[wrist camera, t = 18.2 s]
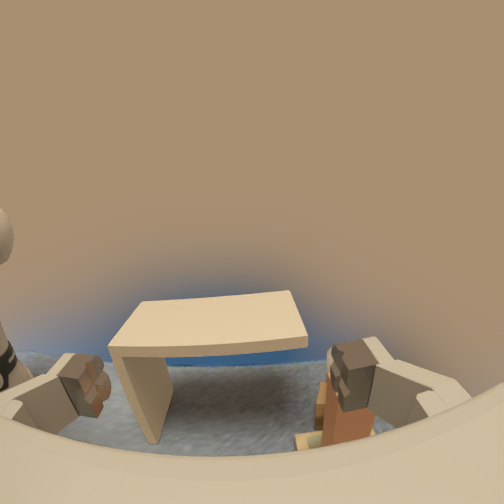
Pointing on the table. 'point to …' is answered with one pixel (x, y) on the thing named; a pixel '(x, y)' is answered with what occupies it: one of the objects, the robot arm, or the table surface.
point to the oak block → (320, 406)
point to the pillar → (343, 421)
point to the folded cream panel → (196, 342)
